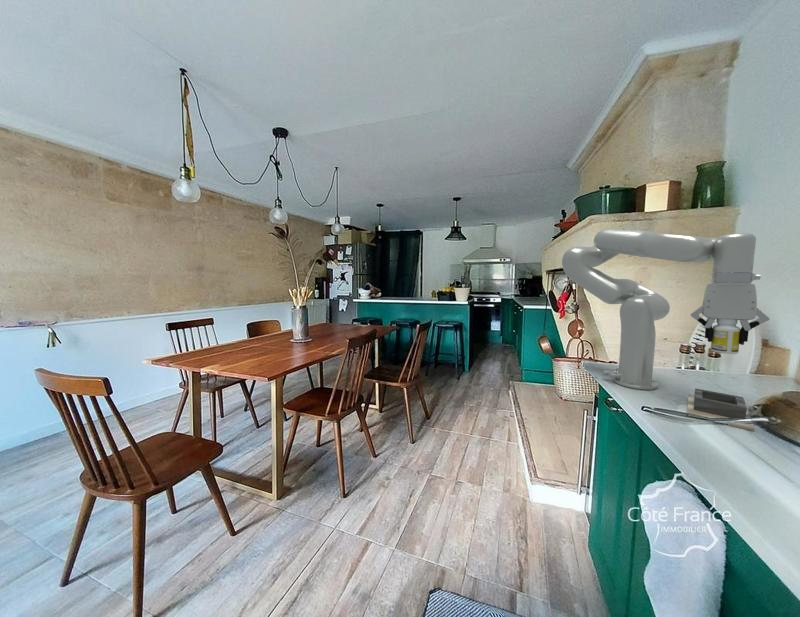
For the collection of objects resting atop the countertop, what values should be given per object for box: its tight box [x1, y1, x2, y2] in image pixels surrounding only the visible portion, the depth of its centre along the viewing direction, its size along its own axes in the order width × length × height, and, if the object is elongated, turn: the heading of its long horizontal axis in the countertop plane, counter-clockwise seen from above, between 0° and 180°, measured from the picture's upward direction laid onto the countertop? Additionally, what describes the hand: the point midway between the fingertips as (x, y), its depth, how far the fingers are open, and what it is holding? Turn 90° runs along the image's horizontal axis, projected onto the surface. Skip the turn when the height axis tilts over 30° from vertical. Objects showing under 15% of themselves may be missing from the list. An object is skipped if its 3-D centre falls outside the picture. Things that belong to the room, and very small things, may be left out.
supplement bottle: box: [710, 319, 741, 355], centre depth 84 cm, size 5×5×10 cm
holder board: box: [686, 388, 755, 432], centre depth 83 cm, size 16×12×4 cm
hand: (724, 341), depth 85 cm, fingers closed on supplement bottle, 5 cm apart
